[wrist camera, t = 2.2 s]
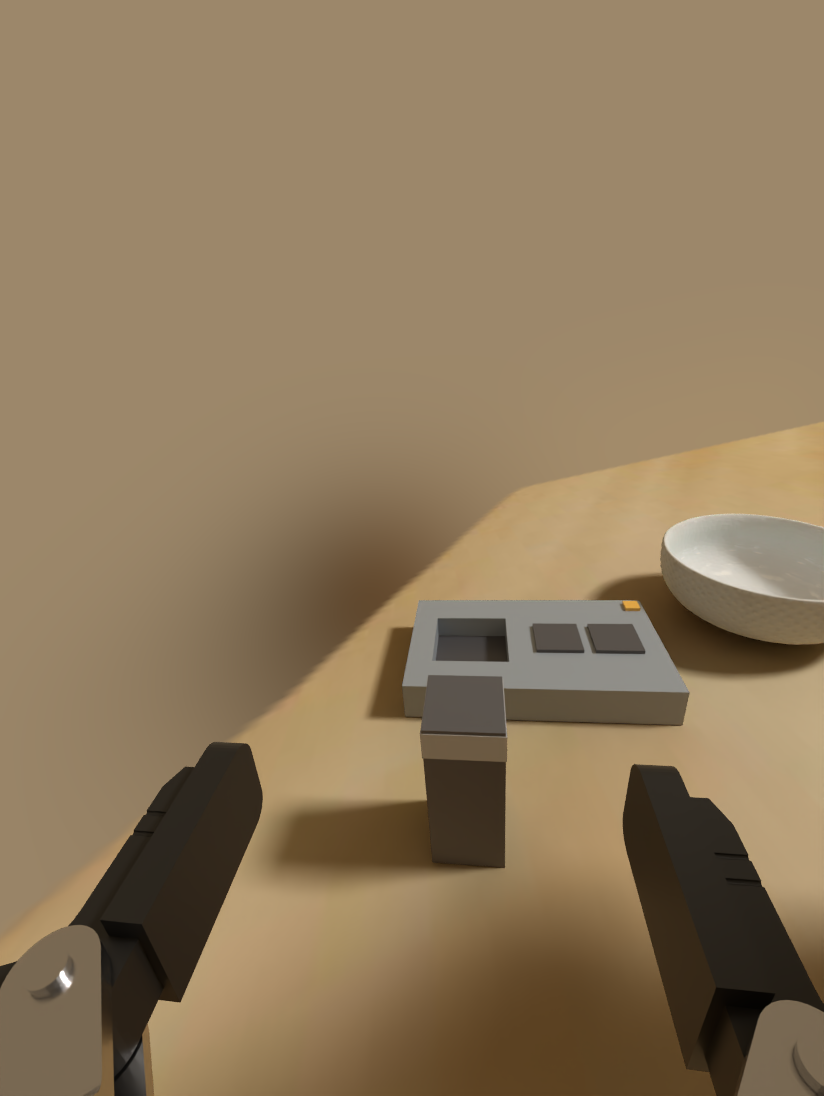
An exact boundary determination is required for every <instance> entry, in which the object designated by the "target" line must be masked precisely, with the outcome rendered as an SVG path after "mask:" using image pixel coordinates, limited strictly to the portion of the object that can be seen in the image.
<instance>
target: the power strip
mask: <svg viewBox="0 0 824 1096" xmlns="http://www.w3.org/2000/svg"><path fill="white" fill-rule="evenodd" d="M428 675H454V676H502V679H503V684H504V699H505V714H506V720H532V721H564V722H596V723H629V724H661V725H683V721H684V716H685V711H686V706H687V702H688V697H689V691H688V689H687V687H686V685H685V683H684V682H683V680H682V678H681V676H680V674H679V672H678V671H677V669H676V667H675V665H674V663H673V661H672V660H671V658H670V656H669V654H668V652H667V650H666V649H665V647H664V645H663V643H662V641H661V639H660V638H659V636H658V634H657V632H656V630H655V628H654V627H653V625H652V623H651V621H650V619H649V617H648V616H647V614H646V612H645V610H644V608H643V606H642V605H641V603H640V601H639V600H432V601H419V603H418V608H417V613H416V618H415V623H414V628H413V633H412V638H411V643H410V648H409V653H408V658H407V663H406V668H405V673H404V678H403V683H402V691H403V700H404V710H405V717H422V716H423V708H424V701H425V694H426V686H427V679H428Z"/></svg>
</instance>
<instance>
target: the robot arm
mask: <svg viewBox="0 0 824 1096" xmlns="http://www.w3.org/2000/svg"><path fill="white" fill-rule="evenodd" d="M262 800H263V795H262V789H261V785H260V781H259V777H258V774H257V770H256V766H255V762H254V759H253V755H252V751H251V748H250V746H249V745H248V744H244V743H224V742H213V743H211V744H210V745H209V746H208V747H207V748H206V750H205V751H204V753H203V755H202V756H201V758H200V759H199V761H198V763H197V764H196V766H195V767H185V768H183V769H182V770H181V771H180V772H179V773H178V774H176V775H175V776H174V777H173V778H172V779H171V780H170V781H169V782H167V783H166V784H165V785H164V786H163V787H162V788H161V790H160V791H159V793H158V794H157V796H156V798H155V799H154V800H153V802H152V804H151V805H150V807H149V808H148V810H147V814H146V815H144V816H143V817H142V819H141V820H140V822H139V823H138V825H137V826H136V828H135V829H134V833H133V835H130V837H129V838H128V840H127V841H126V843H125V844H124V846H123V847H122V849H121V850H120V852H119V853H118V855H117V856H116V858H115V859H114V861H113V862H112V864H111V865H110V867H109V868H108V870H107V871H106V873H105V874H104V876H103V877H102V879H101V880H100V882H99V883H98V885H97V886H96V888H95V889H94V891H93V892H92V894H91V895H90V897H89V898H88V900H87V901H86V903H85V904H84V906H83V908H82V909H81V911H80V912H79V913H78V915H77V916H76V917H75V919H74V920H73V921H72V922H71V924H70V925H69V926H68V927H64V928H61V929H59V930H57V931H54V932H52V933H51V934H49V935H47V936H45V937H44V938H43V939H41V940H40V941H38V942H37V943H36V944H34V945H33V946H32V947H31V948H30V949H29V950H28V951H27V952H26V953H25V954H24V955H23V956H22V957H21V958H20V959H19V960H18V961H16V962H13V963H10V964H6V965H3V966H0V1096H154V1087H153V1074H152V1061H151V1048H150V1036H149V1028H148V1024H147V1023H148V1021H149V1019H150V1017H151V1015H152V1012H153V1010H154V1008H155V1006H156V1004H157V1002H158V1000H165V1001H173V1002H181V1000H182V997H183V995H184V993H185V990H186V988H187V986H188V983H189V981H190V979H191V977H192V974H193V972H194V970H195V967H196V965H197V963H198V960H199V958H200V956H201V953H202V951H203V949H204V946H205V944H206V942H207V939H208V937H209V935H210V932H211V930H212V928H213V925H214V923H215V921H216V918H217V916H218V914H219V912H220V909H221V907H222V905H223V902H224V900H225V898H226V895H227V893H228V891H229V888H230V886H231V884H232V881H233V879H234V877H235V874H236V872H237V870H238V867H239V865H240V863H241V860H242V858H243V856H244V853H245V851H246V849H247V847H248V844H249V842H250V840H251V837H252V835H253V833H254V830H255V828H256V826H257V823H258V821H259V818H260V814H261V809H262ZM623 834H624V841H625V846H626V851H627V855H628V858H629V862H630V865H631V869H632V873H633V876H634V880H635V884H636V887H637V891H638V895H639V898H640V902H641V905H642V909H643V913H644V916H645V920H646V924H647V927H648V931H649V935H650V938H651V942H652V946H653V949H654V953H655V956H656V960H657V964H658V967H659V971H660V975H661V978H662V982H663V986H664V989H665V993H666V996H667V1000H668V1004H669V1007H670V1011H671V1015H672V1018H673V1022H674V1026H675V1029H676V1033H677V1036H678V1040H679V1044H680V1047H681V1051H682V1055H683V1058H684V1062H685V1066H686V1069H689V1070H697V1071H705V1072H710V1075H711V1079H712V1082H713V1085H714V1089H715V1092H716V1095H717V1096H824V1004H823V1002H822V1001H821V999H820V997H819V996H818V994H817V992H816V990H815V988H814V986H813V984H812V982H811V980H810V978H809V976H808V974H807V972H806V970H805V968H804V966H803V964H802V962H801V960H800V958H799V956H798V954H797V952H796V950H795V948H794V946H793V944H792V942H791V940H790V938H789V936H788V934H787V932H786V930H785V928H784V926H783V924H782V922H781V920H780V918H779V916H778V914H777V912H776V910H775V908H774V906H773V904H772V902H771V900H770V898H769V896H768V894H767V892H766V890H765V888H764V887H762V885H761V880H760V878H759V876H758V874H757V872H756V870H755V868H754V866H753V863H752V861H749V858H748V853H747V851H746V849H745V847H744V845H743V843H742V841H741V839H740V837H739V835H738V833H737V831H736V829H735V827H734V825H733V824H732V823H731V822H730V821H729V820H728V819H727V817H726V816H725V815H724V814H723V813H722V812H721V811H720V810H719V809H718V808H717V807H716V806H715V805H714V804H713V803H712V801H711V800H710V799H709V798H693V797H690V796H689V794H688V792H687V789H686V787H685V785H684V782H683V780H682V778H681V776H680V774H679V772H678V770H677V769H676V768H675V767H673V766H656V765H636V764H634V765H633V766H632V768H631V771H630V777H629V783H628V789H627V795H626V801H625V806H624V812H623Z"/></svg>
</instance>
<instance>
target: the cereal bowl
mask: <svg viewBox="0 0 824 1096" xmlns="http://www.w3.org/2000/svg"><path fill="white" fill-rule="evenodd" d="M660 560H661V568H662V574H663V578H664V580H665V582H666V585H667V586H668V588H669V590H670V591H671V592H672V594H673V596H674V597H676V599H677V600H678V601H679V602H680V603H681V604H682V605H683V606H684V607H686V608H687V609H688V610H689V611H691V612H692V613H693V614H695V615H697V616H699V617H700V618H701V619H703V620H705V621H707V622H709V623H711V624H712V625H715V626H717V627H719V628H722V629H724V630H727V631H728V632H732V633H735V634H738V635H742V636H744V637H748V638H753V639H756V640H762V641H767V642H773V643H783V644H795V645H800V644H819V643H824V527H821V526H817V525H813V524H810V523H805V522H801V521H796V520H791V519H785V518H779V517H771V516H763V515H752V514H716V515H707V516H700V517H695V518H691V519H687V520H684V521H682V522H679V523H677V524H675V525H674V526H672V527H671V528H670V529H668V531H667V532H666V533H665V535H664V537H663V541H662V549H661V558H660Z"/></svg>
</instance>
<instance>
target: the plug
mask: <svg viewBox="0 0 824 1096" xmlns="http://www.w3.org/2000/svg"><path fill="white" fill-rule="evenodd" d="M420 740H421V751H422V758H423V760H424V771H425V782H426V794H427V805H428V816H429V827H430V839H431V850H432V861H433V862H435V863H449V864H463V865H477V866H491V867H504V868H505V786H506V762H507V728H506V714H505V699H504V684H503V679H502V676H454V675H428V679H427V686H426V694H425V701H424V708H423V716H422V723H421V731H420Z"/></svg>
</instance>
